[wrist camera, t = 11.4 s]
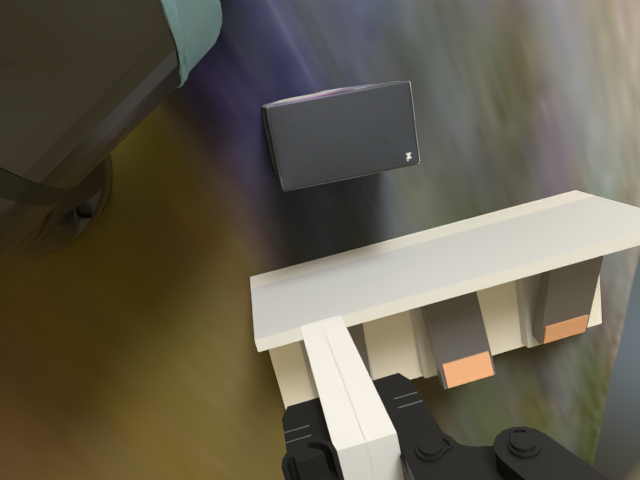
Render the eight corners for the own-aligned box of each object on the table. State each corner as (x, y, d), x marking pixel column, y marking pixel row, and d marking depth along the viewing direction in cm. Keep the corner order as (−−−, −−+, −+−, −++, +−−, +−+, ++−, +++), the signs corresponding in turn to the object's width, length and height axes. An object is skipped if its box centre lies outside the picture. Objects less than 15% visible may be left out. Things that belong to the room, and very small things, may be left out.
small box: (374, 80, 44) (414, 75, 34) (384, 152, 46) (424, 167, 36) (258, 101, 43) (264, 103, 33) (273, 174, 45) (283, 196, 35)
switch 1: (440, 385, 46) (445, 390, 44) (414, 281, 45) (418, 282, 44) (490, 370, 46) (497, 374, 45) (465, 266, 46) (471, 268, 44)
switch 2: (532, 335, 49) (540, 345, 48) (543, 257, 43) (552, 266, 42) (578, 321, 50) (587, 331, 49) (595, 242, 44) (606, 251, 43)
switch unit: (284, 398, 52) (299, 492, 39) (249, 277, 48) (254, 340, 35) (582, 311, 55) (683, 373, 42) (575, 190, 51) (684, 220, 38)
